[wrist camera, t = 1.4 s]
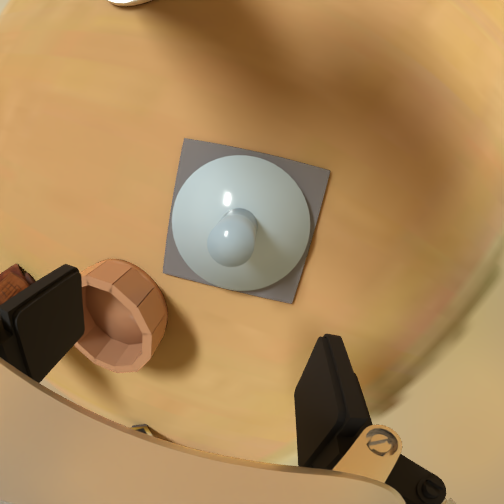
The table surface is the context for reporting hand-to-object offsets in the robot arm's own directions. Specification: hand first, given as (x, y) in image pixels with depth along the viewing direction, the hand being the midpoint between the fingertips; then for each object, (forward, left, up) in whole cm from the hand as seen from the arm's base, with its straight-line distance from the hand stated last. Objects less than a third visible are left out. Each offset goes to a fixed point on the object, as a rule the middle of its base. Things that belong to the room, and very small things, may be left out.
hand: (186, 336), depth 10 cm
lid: (0, 0, -18) cm, 18 cm away
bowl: (+13, -12, -19) cm, 26 cm away
